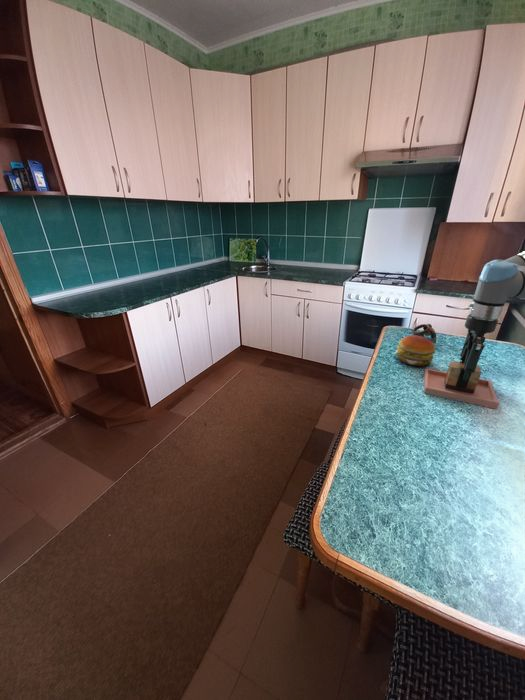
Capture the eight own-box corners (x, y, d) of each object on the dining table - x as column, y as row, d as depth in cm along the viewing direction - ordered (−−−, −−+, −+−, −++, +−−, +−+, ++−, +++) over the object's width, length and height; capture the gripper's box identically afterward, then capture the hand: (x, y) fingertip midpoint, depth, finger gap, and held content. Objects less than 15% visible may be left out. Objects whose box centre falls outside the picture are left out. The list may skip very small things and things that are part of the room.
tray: (488, 386, 99) (490, 380, 98) (496, 409, 88) (499, 403, 87) (424, 373, 107) (425, 368, 106) (424, 393, 96) (425, 387, 95)
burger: (430, 372, 107) (437, 348, 103) (391, 363, 114) (396, 340, 109) (433, 357, 118) (439, 334, 113) (397, 349, 124) (402, 328, 119)
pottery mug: (436, 347, 127) (429, 332, 124) (413, 350, 134) (407, 335, 131) (441, 331, 134) (435, 317, 131) (419, 335, 141) (413, 321, 138)
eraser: (471, 386, 97) (479, 365, 93) (473, 393, 93) (481, 372, 90) (444, 381, 100) (450, 360, 96) (445, 387, 96) (451, 366, 93)
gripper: (464, 306, 94) (445, 368, 104) (471, 324, 80) (448, 394, 90) (493, 309, 91) (470, 373, 101) (505, 329, 77) (477, 400, 87)
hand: (460, 382), depth 96 cm, fingers closed on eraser, 4 cm apart
